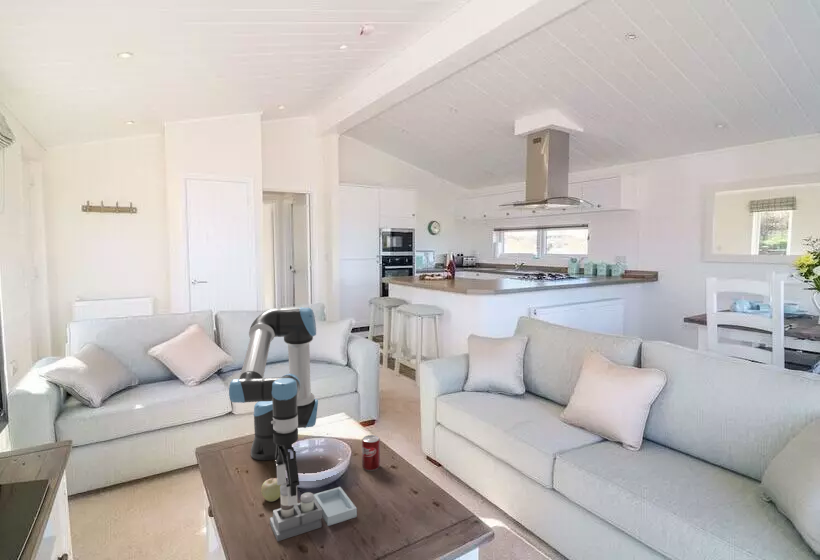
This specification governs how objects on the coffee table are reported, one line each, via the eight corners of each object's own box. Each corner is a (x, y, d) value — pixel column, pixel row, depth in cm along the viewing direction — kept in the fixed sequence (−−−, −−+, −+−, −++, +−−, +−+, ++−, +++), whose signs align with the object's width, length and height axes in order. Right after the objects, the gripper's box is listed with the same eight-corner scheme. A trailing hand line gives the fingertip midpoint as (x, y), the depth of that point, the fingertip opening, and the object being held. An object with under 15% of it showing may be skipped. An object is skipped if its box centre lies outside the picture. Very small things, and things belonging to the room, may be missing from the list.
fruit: (287, 497, 162) (287, 475, 161) (271, 507, 156) (270, 485, 155) (273, 490, 166) (273, 469, 165) (256, 500, 160) (256, 478, 159)
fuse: (279, 520, 146) (278, 484, 144) (292, 516, 148) (291, 481, 146) (282, 527, 142) (281, 491, 141) (296, 523, 144) (295, 487, 143)
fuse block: (269, 523, 147) (269, 497, 146) (313, 510, 154) (313, 485, 153) (277, 541, 138) (276, 514, 138) (323, 526, 146) (323, 500, 145)
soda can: (373, 473, 178) (372, 444, 177) (358, 468, 182) (358, 439, 181) (383, 465, 185) (383, 437, 184) (369, 460, 188) (369, 433, 187)
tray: (313, 502, 159) (313, 494, 159) (340, 494, 164) (340, 486, 163) (328, 526, 146) (327, 517, 146) (356, 516, 151) (356, 508, 151)
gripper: (264, 417, 151) (266, 478, 153) (283, 447, 129) (285, 518, 131) (287, 413, 154) (288, 473, 156) (309, 441, 133) (310, 510, 135)
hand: (286, 493), depth 144 cm, fingers open, 13 cm apart
